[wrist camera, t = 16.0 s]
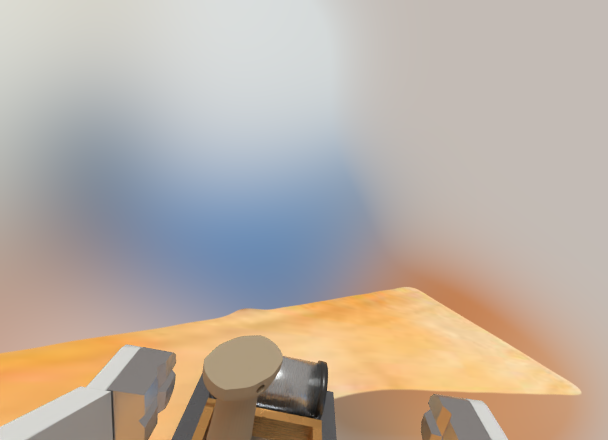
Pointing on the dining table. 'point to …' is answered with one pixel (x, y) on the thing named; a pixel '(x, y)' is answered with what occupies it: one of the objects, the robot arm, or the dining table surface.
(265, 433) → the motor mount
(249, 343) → the handle
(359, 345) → the dining table surface
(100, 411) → the robot arm
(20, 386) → the dining table surface
